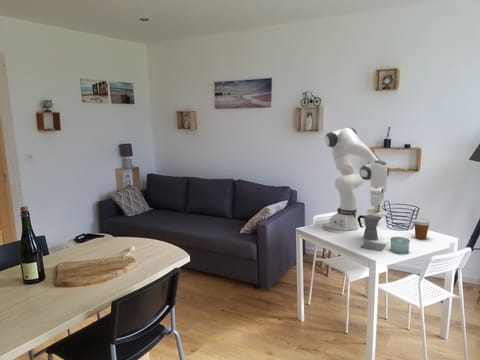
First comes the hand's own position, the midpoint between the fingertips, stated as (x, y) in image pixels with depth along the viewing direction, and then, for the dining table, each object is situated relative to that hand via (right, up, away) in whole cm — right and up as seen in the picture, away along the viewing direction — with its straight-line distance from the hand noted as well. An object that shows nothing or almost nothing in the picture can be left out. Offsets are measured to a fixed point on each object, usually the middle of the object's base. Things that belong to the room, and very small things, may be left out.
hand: (376, 210), depth 216 cm
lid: (0, -2, 0) cm, 2 cm away
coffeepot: (+2, -21, +19) cm, 28 cm away
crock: (+12, -24, -4) cm, 27 cm away
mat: (-1, -23, +4) cm, 23 cm away
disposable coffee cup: (+35, -20, +17) cm, 44 cm away
